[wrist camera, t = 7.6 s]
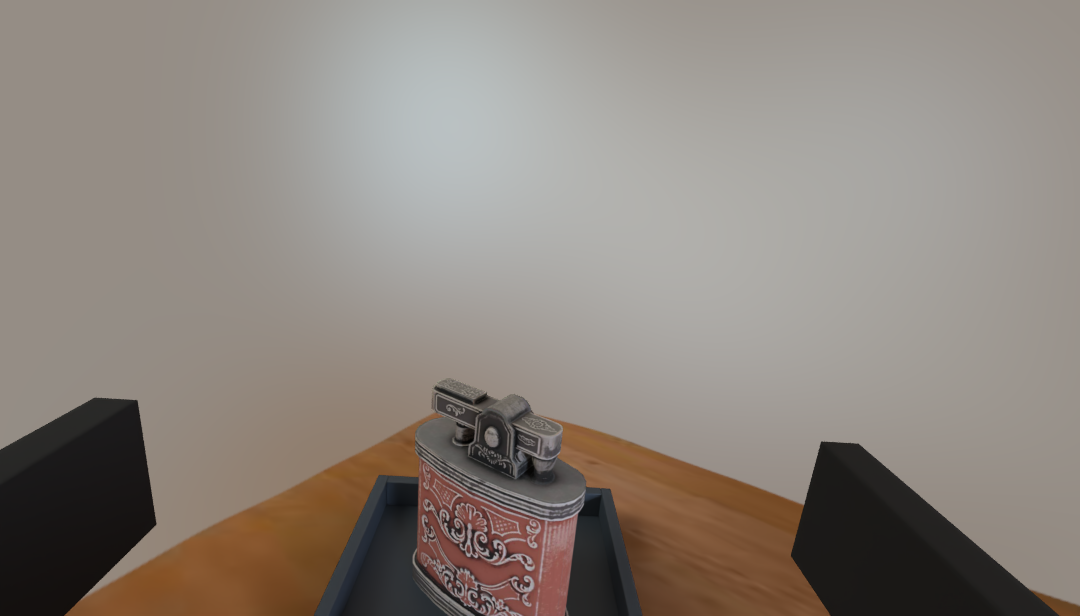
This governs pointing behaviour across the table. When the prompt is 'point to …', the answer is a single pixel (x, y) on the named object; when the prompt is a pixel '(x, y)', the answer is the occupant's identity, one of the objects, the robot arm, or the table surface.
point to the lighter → (493, 507)
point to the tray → (391, 539)
